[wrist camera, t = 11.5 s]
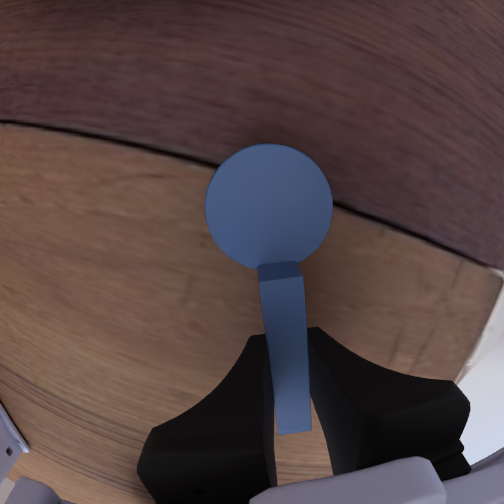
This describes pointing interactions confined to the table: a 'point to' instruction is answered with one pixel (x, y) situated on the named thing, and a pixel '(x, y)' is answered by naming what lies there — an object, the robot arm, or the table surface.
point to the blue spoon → (275, 254)
